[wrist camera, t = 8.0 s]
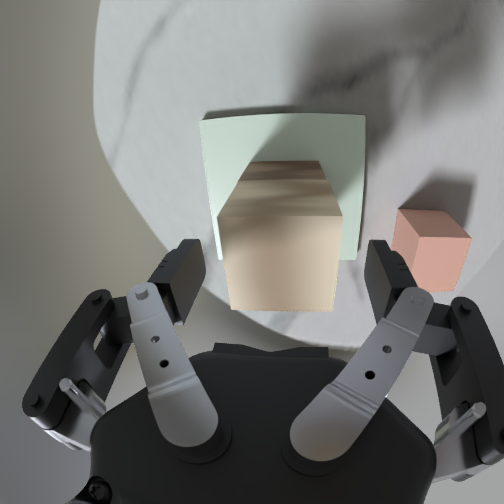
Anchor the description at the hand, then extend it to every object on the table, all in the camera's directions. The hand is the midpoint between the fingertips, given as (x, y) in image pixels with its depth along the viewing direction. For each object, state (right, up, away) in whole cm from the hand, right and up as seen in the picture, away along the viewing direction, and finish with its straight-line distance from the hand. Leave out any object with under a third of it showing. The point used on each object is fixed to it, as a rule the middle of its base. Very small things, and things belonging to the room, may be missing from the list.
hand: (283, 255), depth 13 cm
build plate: (+1, +5, +8) cm, 10 cm away
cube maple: (0, +2, +3) cm, 4 cm away
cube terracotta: (+13, +2, +9) cm, 16 cm away
